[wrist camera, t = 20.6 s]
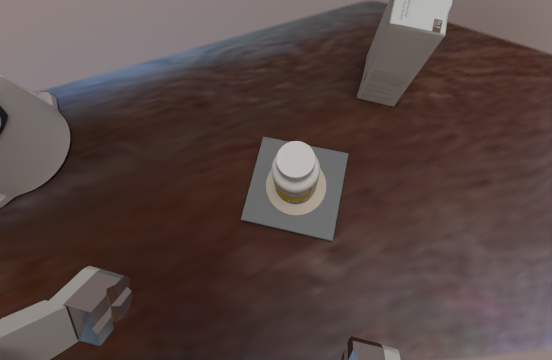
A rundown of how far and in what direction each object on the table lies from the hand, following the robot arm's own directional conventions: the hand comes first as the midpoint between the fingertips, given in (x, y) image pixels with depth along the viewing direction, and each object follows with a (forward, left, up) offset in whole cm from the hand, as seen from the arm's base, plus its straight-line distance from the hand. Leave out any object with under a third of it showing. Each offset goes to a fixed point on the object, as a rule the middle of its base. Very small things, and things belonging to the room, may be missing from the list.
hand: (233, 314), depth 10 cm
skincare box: (+9, +31, -28) cm, 43 cm away
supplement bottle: (0, +12, -26) cm, 29 cm away
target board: (0, +12, -27) cm, 30 cm away
